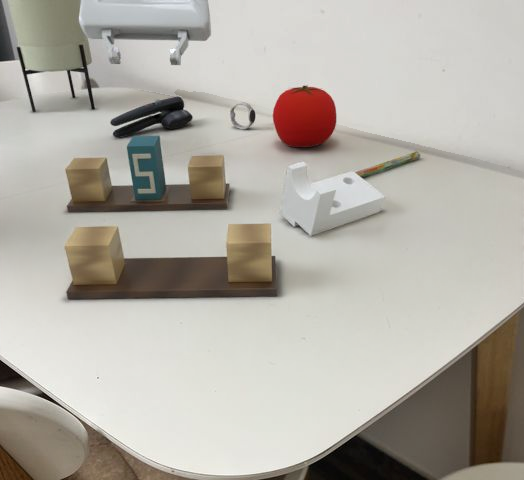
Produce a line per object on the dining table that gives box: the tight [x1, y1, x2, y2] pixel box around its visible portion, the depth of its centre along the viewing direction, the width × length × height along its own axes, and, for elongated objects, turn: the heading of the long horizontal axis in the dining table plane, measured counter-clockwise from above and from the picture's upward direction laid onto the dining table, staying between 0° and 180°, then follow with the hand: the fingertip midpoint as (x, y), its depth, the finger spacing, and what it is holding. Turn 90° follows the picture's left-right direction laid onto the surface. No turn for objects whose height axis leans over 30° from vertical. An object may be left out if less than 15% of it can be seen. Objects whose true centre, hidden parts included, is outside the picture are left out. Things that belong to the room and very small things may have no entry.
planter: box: [6, 0, 96, 113], centre depth 130 cm, size 15×16×23 cm
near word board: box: [63, 223, 277, 300], centre depth 67 cm, size 24×8×6 cm, turn 90°
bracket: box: [279, 161, 385, 237], centre depth 80 cm, size 13×7×8 cm, turn 125°
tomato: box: [272, 84, 337, 148], centre depth 106 cm, size 12×12×10 cm
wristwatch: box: [229, 101, 256, 130], centre depth 117 cm, size 3×5×5 cm, turn 64°
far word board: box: [64, 154, 231, 213], centre depth 87 cm, size 24×8×6 cm, turn 90°
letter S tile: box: [126, 135, 167, 200], centre depth 85 cm, size 4×5×8 cm
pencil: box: [354, 151, 421, 179], centre depth 96 cm, size 1×1×18 cm
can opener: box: [109, 95, 194, 138], centre depth 117 cm, size 18×7×6 cm, turn 127°
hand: (144, 62), depth 88 cm, fingers open, 8 cm apart
